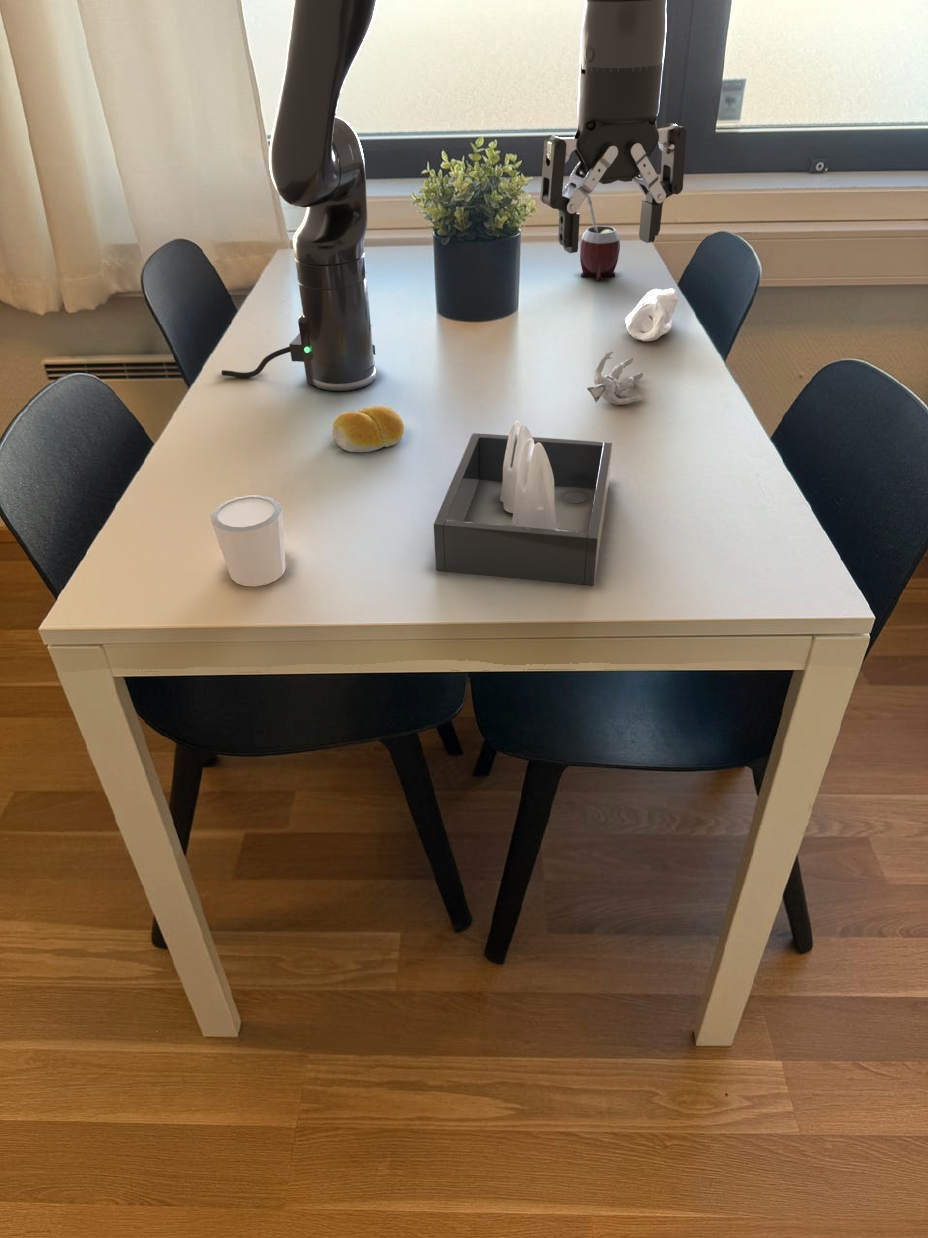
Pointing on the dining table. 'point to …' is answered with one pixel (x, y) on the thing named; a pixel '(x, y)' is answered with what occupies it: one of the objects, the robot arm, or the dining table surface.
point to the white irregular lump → (652, 315)
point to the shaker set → (528, 481)
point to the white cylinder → (251, 539)
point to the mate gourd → (599, 249)
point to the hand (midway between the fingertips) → (608, 245)
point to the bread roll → (368, 429)
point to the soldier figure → (613, 383)
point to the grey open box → (523, 546)
